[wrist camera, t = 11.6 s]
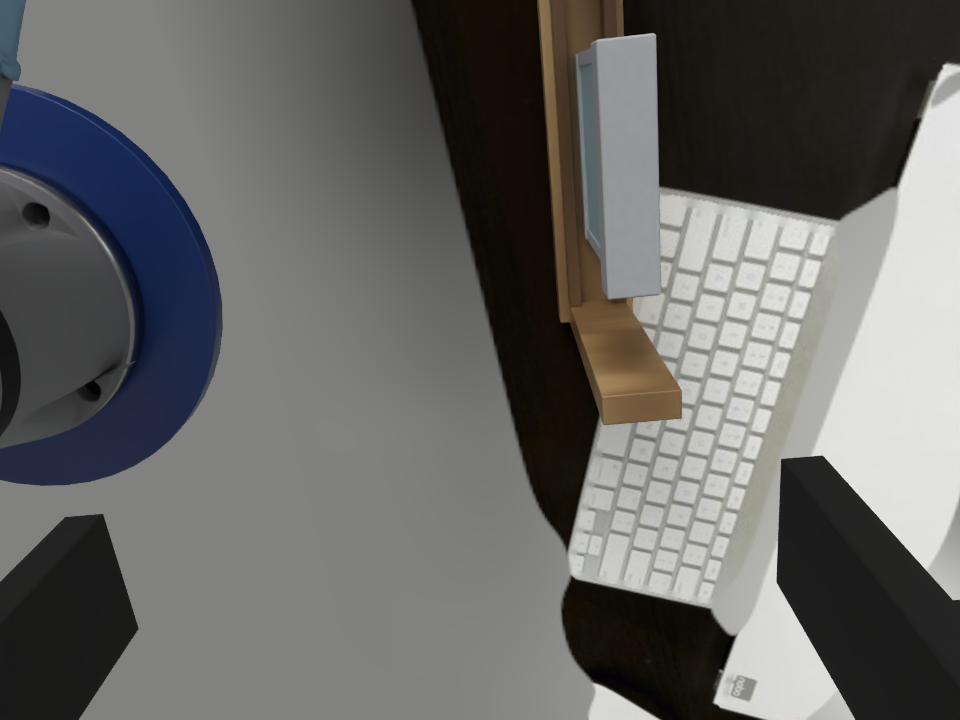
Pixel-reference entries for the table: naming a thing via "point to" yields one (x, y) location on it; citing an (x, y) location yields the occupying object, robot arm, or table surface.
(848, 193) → the table surface
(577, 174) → the brown wooden l-shape
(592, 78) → the grey rectangular block
